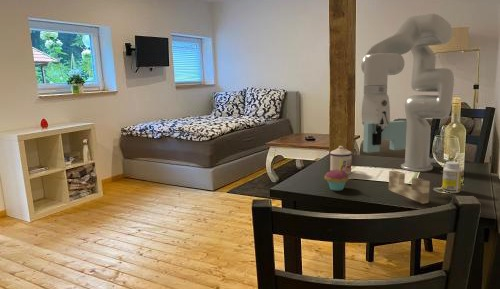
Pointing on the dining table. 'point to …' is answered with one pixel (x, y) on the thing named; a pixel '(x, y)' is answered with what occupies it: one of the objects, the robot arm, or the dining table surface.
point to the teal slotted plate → (386, 136)
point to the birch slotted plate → (409, 187)
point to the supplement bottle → (451, 177)
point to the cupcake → (336, 178)
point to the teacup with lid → (336, 158)
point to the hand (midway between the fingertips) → (373, 143)
